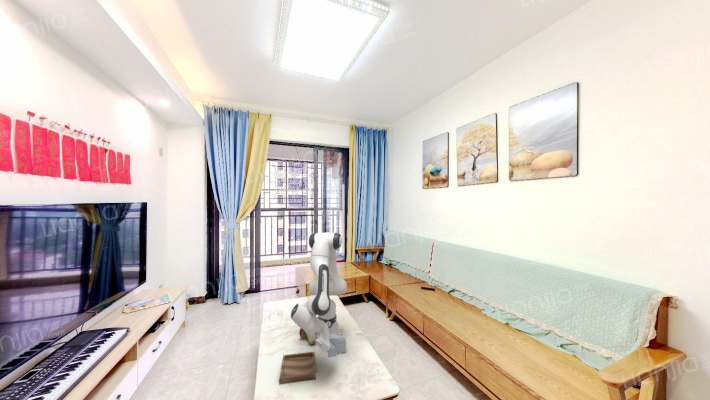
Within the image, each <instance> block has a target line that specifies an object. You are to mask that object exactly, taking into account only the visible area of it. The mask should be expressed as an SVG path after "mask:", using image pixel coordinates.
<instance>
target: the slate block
mask: <svg viewBox="0 0 710 400" xmlns="http://www.w3.org/2000/svg"><path fill="white" fill-rule="evenodd" d="M329 339H330V343H331V344H333V345H334V347H335V348H334V349H331V348H330V349H329V350H328V351H327V358H334V357H337V353H336V349H337V338H336V333H333V334H329Z"/></svg>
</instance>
